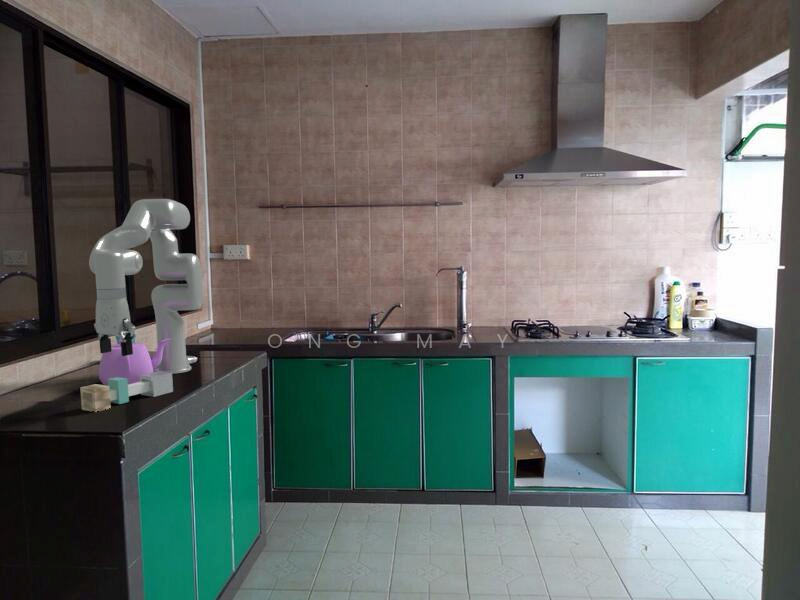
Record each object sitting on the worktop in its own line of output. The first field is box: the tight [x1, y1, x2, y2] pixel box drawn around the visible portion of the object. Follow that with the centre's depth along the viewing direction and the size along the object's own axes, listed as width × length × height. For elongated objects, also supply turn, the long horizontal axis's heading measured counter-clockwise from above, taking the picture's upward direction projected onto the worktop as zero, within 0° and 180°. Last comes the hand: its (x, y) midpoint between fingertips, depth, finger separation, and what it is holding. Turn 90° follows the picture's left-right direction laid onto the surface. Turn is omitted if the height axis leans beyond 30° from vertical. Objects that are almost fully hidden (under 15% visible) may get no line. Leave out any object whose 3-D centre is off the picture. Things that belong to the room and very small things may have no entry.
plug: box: [108, 377, 151, 405], centre depth 176 cm, size 18×5×7 cm, turn 150°
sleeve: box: [140, 371, 174, 398], centre depth 186 cm, size 7×6×6 cm
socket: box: [79, 383, 112, 413], centre depth 169 cm, size 4×6×6 cm
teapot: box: [98, 339, 170, 386], centre depth 200 cm, size 23×21×15 cm
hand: (116, 353), depth 175 cm, fingers open, 9 cm apart
